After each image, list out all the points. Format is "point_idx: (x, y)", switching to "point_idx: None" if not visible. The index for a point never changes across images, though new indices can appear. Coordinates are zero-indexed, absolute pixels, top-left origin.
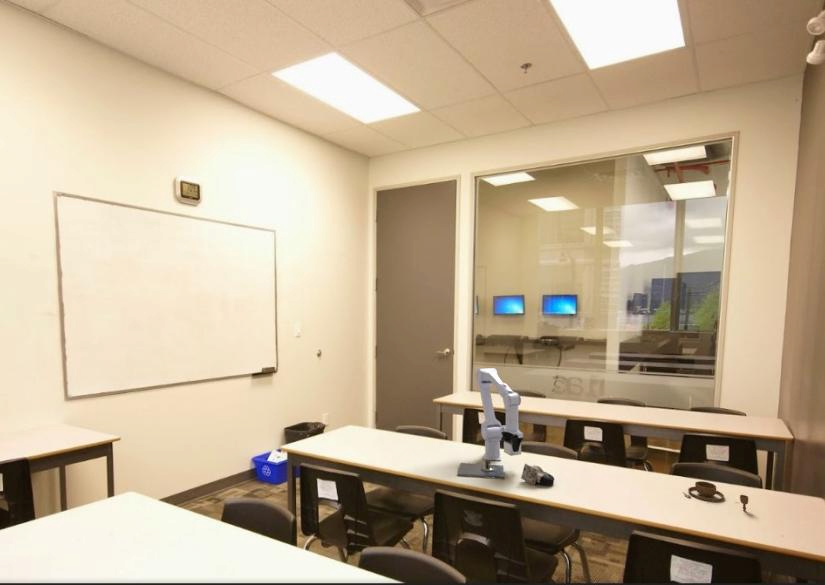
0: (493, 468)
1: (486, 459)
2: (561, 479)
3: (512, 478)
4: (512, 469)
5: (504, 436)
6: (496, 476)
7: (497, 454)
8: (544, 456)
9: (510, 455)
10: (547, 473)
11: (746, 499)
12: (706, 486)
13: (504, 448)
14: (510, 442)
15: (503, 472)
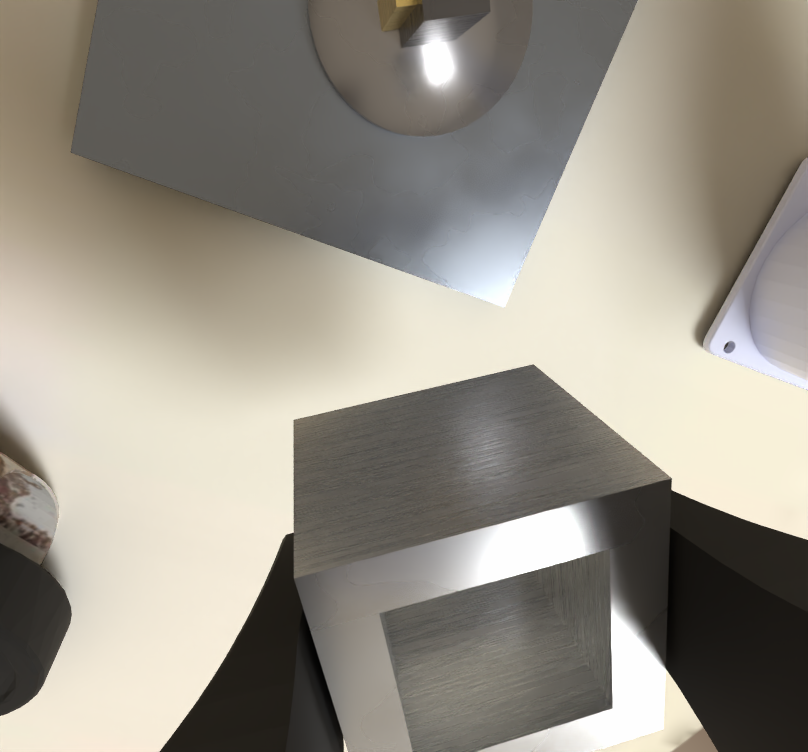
0: (392, 103)
1: (793, 180)
2: (74, 745)
3: (104, 282)
4: (416, 387)
5: (798, 601)
6: (94, 30)
7: (792, 340)
8: (652, 739)
9: (298, 420)
10: (4, 700)
11: None
12: None
13: (547, 400)
14: (590, 611)
15: (248, 211)
